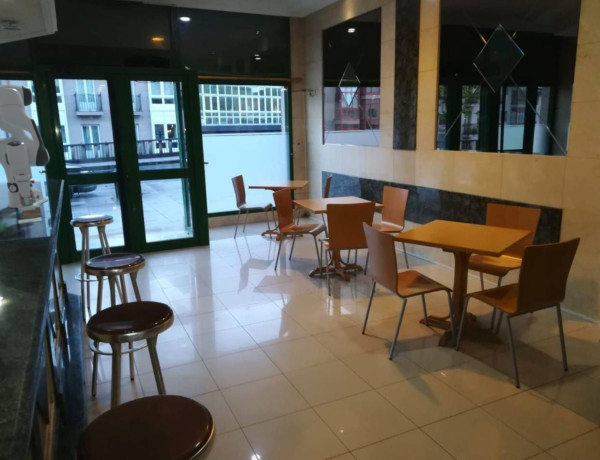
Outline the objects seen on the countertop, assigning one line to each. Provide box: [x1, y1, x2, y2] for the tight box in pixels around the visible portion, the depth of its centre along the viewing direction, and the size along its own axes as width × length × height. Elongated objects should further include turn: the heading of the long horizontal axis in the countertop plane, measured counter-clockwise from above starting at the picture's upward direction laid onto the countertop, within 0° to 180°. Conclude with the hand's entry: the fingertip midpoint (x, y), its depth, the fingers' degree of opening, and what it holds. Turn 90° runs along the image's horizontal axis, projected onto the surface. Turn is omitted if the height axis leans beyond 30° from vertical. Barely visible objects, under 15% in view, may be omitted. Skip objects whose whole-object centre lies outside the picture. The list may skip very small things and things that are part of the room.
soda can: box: [19, 189, 36, 203], centre depth 256 cm, size 7×7×12 cm
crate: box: [22, 204, 43, 219], centre depth 244 cm, size 8×8×5 cm
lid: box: [17, 198, 38, 212], centre depth 232 cm, size 8×8×5 cm
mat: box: [17, 216, 43, 225], centre depth 234 cm, size 10×10×1 cm
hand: (27, 203), depth 232 cm, fingers closed on lid, 2 cm apart
